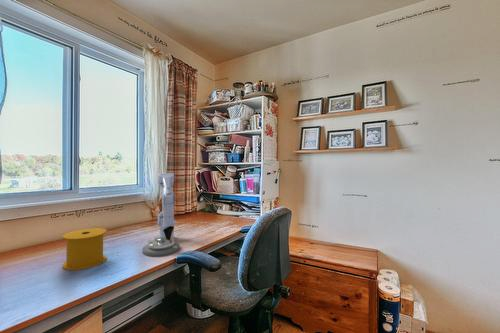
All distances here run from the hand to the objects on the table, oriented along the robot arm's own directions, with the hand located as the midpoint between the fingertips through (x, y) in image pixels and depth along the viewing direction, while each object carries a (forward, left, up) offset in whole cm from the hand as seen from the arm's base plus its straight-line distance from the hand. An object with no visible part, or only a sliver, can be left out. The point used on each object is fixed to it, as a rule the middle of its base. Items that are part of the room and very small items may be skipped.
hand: (168, 239), depth 131 cm
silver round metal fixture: (-2, -6, -5) cm, 8 cm away
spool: (+21, -34, -7) cm, 40 cm away
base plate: (-2, -6, -7) cm, 9 cm away
